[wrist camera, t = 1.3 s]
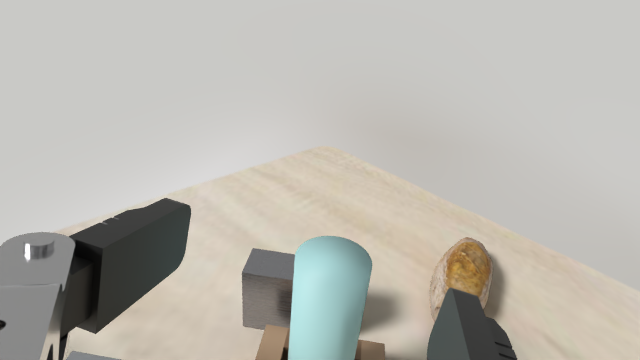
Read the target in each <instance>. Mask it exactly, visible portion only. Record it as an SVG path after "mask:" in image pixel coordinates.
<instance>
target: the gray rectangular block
mask: <svg viewBox="0 0 640 360" xmlns="http://www.w3.org/2000/svg"><path fill="white" fill-rule="evenodd" d="M294 262H295V255H294V254H288V253H281V252H274V251H268V250H261V249H255V248H253V249H252V251H251V254H250V256H249V258H248V260H247V263H246V265H245V267H244V269H243V271H242V296H243V326H246V327H252V328H258V329H264V330H265V327H266V324H267V325H273V326H279V327H285V328H290V322H291V307H292V292H293V277H294Z"/></svg>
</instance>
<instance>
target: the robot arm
mask: <svg viewBox="0 0 640 360" xmlns="http://www.w3.org/2000/svg"><path fill="white" fill-rule="evenodd" d="M190 217H191V208H190V206H189V205H187V204H184V203H180V202H177V201H174V200H171V199H168V198H164V199H162V200H160V201H157V202H155V203H153V204H151V205H149V206H147V207H144V208H139V209H133V210H128V211H125V212H123V213H121V214H118V215H116V216H114V218H109V219H107V220H105V221H103V222H102V223H98V224H96V225H93V226H91V227H89V228H87V229H84V230H82V231H80V232H78V233H75V234H73V235H71V236H69V237H68V236H65V235H62V234H57V233H48V232H39V233H29V234H24V235H19V236H16V237H13V238H11V239H9V240H7V241H6V242H4V243H3V244H2V245H1V247H0V360H66V355H67V350H68V344H69V332H70V331H71V330H72V329H74V328H75V327H79V328H82V329H84V330H87V331H89V332H92V333H95V334H96V333H97V332H99V331H100V330H101V329H102V328H104V327H105V326H106V325H107V324H109V323H110V322H111V321H112V320H114V319H115V318H116V317H117V316H119V315H120V314H121V313H122V312H124V311H125V310H126V309H127V308H129V307H130V306H131V305H132V304H134V303H135V302H136V301H137V300H139V299H140V298H141V297H142V296H144V295H145V294H146V293H147V292H149V291H150V290H151V289H152V288H154V287H155V286H156V285H157V284H159V283H160V282H161V281H163V280H164V279H165V278H166V277H168V276H169V275H170V274H171V273H173V272H174V271H175V270H176V269H177V268H178V267H179V265H180V264H181V262H182V260H183V257H184V254H185V250H186V243H187V237H188V230H189V223H190ZM427 360H517V357H516V355H515V352H514V350H512V345H511V343H510V341H509V338H508V336H507V334H506V332H505V331H504V330H503V329H502V328H501V327H500V326H499V325H498V324H497V322H496V321H495V320H494V319H491V318H488V317H485V314H484V311H483V308H482V306H481V303H480V300H479V298H478V296H477V295H473V294H470V293H467V292H464V291H461V290H457V289H454V288H451V287H450V288H449V289H448V290H447V292H446V294H445V297H444V299H443V302H442V305H441V308H440V310H439V313H438V316H437V318H436V321H435V324H434V326H433V329H432V332H431V335H430V338H429V343H428V349H427Z"/></svg>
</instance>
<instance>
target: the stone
mask: <svg viewBox="0 0 640 360" xmlns="http://www.w3.org/2000/svg"><path fill="white" fill-rule="evenodd" d="M492 266H493V263H492V260H491V258H490V257H489V255H488V253H487V251H486V249H485V247H484V246H483V244H482V243H480V242H479V241H477V240H474V239H472V238H469V237H466V238H463V239H462V240H460V241H459V242H458V243H456V244H455V245H454V246H453V247H451V248H450V249H449V250H448V251H447V252H446V253H445V254H444V256H443V258H442V259H441V260H440V261H439V263H438V265H437V266H436V268H435V270H434V273H433V276H432V280H431V284H430V308H431V314H432V317H433V319H434V321H436V318H437V316H438V313H439V310H440V308H441V305H442V302H443V299H444V297H445V294H446V292H447V290H448V289H449V288H450V287H451V288H454V289H457V290H461V291H464V292H467V293H470V294H473V295H477V296H478V298H479V300H480V303H481V306H482V308H483V309H484V307H485V304H486V302H487V300H488V295H489V290H490V286H491V281H492V274H493V267H492Z"/></svg>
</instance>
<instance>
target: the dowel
mask: <svg viewBox="0 0 640 360" xmlns="http://www.w3.org/2000/svg"><path fill="white" fill-rule="evenodd" d="M371 270H372V260H371V258H370V256H369V254H368V253H367V251H366V250H365V249H364V248H363V247H361V246H360V245H359V244H357V243H355V242H353V241H351V240H348V239H345V238H342V237H336V236H321V237H316V238H313V239H310V240H308V241H306V242H304V243H303V244H302V245H301V246H300V247H299V248H298V249H297V251H296V254H295V262H294V277H293V292H292V307H291V322H290V336H289V351H288V360H354V358H355V353H356V348H357V343H358V338H359V333H360V327H361V322H362V317H363V312H364V307H365V301H366V296H367V291H368V286H369V281H370V276H371Z"/></svg>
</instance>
